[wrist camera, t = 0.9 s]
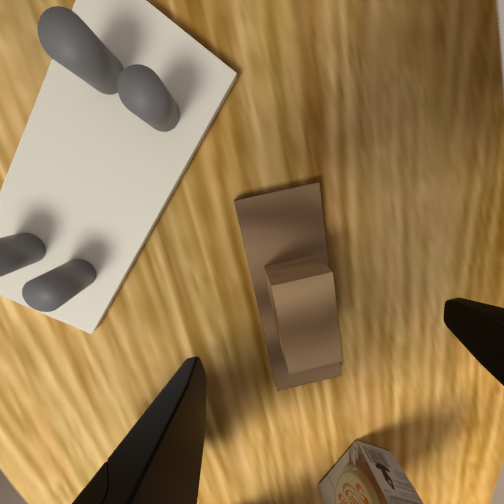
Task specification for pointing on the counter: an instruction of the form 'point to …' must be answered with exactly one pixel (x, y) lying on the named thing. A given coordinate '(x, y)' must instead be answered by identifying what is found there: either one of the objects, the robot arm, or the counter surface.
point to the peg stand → (101, 153)
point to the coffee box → (367, 479)
